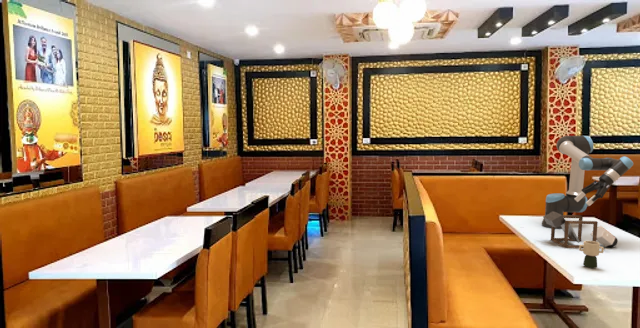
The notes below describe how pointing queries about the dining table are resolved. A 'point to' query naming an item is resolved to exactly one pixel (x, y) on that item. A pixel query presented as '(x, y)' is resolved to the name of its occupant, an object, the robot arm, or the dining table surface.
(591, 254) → the character mug
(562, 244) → the trapdoor frame
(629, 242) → the dining table surface
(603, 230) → the jar
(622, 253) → the dining table surface
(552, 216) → the trapdoor
